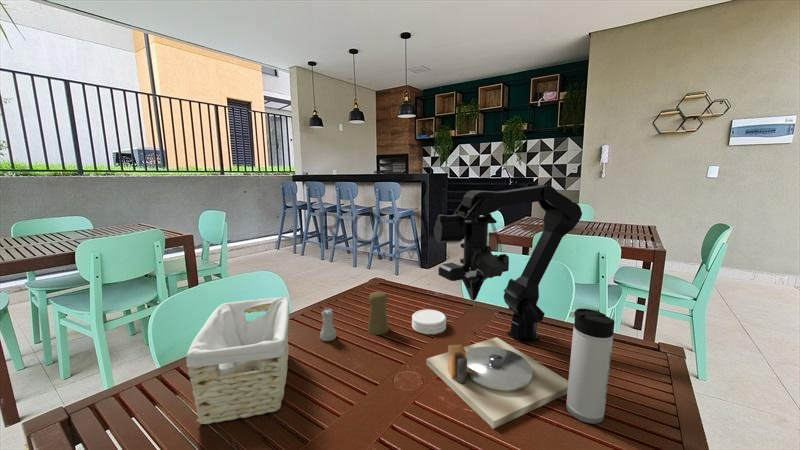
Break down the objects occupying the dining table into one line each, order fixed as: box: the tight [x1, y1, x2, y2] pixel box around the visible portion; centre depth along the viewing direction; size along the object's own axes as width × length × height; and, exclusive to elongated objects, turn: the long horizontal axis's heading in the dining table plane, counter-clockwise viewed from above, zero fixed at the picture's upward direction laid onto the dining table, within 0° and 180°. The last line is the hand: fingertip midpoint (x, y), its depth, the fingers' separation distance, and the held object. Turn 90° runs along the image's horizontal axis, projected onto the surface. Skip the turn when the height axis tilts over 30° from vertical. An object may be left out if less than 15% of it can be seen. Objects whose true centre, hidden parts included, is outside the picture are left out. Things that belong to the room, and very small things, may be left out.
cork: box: [367, 291, 390, 336], centre depth 93 cm, size 6×6×11 cm
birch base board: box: [426, 336, 569, 430], centre depth 72 cm, size 22×22×6 cm
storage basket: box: [186, 296, 290, 425], centre depth 69 cm, size 24×16×15 cm
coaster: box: [411, 309, 447, 335], centre depth 96 cm, size 10×10×4 cm
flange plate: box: [447, 343, 533, 392], centre depth 72 cm, size 18×15×6 cm
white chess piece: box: [319, 307, 337, 342], centre depth 89 cm, size 4×4×8 cm
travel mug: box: [565, 308, 616, 425], centre depth 60 cm, size 6×7×20 cm
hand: (473, 299), depth 85 cm, fingers closed
